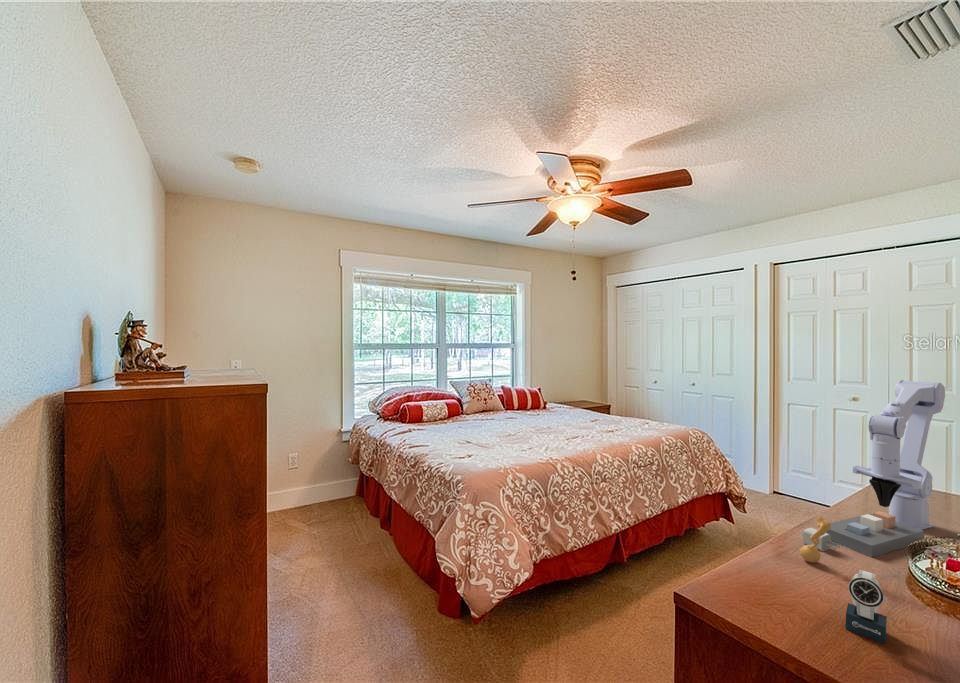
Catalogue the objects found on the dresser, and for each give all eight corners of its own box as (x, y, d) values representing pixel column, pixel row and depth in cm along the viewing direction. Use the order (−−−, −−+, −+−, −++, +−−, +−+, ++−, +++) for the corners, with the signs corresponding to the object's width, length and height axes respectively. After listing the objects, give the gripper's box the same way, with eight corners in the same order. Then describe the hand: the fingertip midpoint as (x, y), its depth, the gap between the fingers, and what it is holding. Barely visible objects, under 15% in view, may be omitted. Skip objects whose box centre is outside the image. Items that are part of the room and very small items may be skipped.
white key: (867, 526, 119) (867, 514, 119) (882, 531, 116) (882, 519, 116) (860, 528, 118) (860, 515, 118) (875, 533, 114) (875, 520, 114)
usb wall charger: (812, 541, 115) (812, 527, 115) (841, 553, 109) (842, 538, 109) (803, 544, 114) (803, 529, 113) (833, 556, 107) (833, 541, 107)
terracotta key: (880, 523, 121) (880, 511, 121) (895, 528, 118) (895, 515, 118) (873, 525, 120) (873, 512, 120) (888, 530, 117) (888, 517, 117)
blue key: (854, 534, 117) (854, 522, 117) (869, 540, 114) (869, 527, 114) (846, 536, 116) (846, 523, 116) (861, 542, 112) (861, 529, 112)
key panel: (870, 523, 127) (871, 513, 126) (924, 541, 115) (924, 530, 115) (819, 536, 118) (819, 525, 118) (871, 557, 107) (871, 545, 107)
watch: (844, 633, 79) (845, 576, 79) (848, 614, 85) (849, 560, 85) (885, 650, 75) (887, 589, 75) (887, 628, 81) (888, 572, 81)
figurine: (807, 553, 109) (808, 507, 108) (836, 564, 103) (837, 516, 103) (793, 562, 104) (794, 515, 104) (823, 574, 99) (824, 524, 99)
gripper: (846, 452, 124) (845, 498, 124) (911, 467, 110) (909, 518, 110) (861, 450, 126) (860, 495, 127) (926, 464, 113) (924, 514, 113)
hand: (884, 505), depth 119 cm, fingers closed
